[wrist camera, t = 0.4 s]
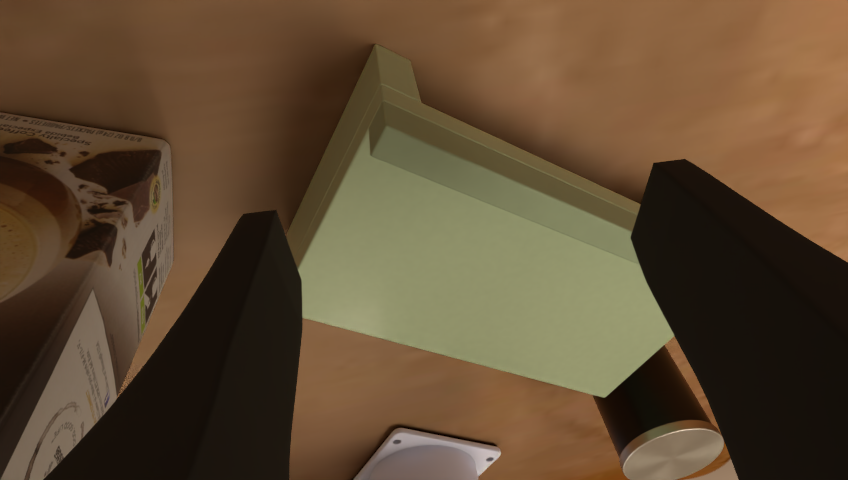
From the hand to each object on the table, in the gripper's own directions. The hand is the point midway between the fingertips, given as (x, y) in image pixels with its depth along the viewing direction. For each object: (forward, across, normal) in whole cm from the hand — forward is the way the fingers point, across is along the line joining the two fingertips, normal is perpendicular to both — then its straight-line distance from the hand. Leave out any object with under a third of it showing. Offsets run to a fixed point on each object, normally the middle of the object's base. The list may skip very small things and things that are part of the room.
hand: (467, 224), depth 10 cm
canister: (+8, -10, +20) cm, 24 cm away
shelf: (+10, -3, +9) cm, 14 cm away
